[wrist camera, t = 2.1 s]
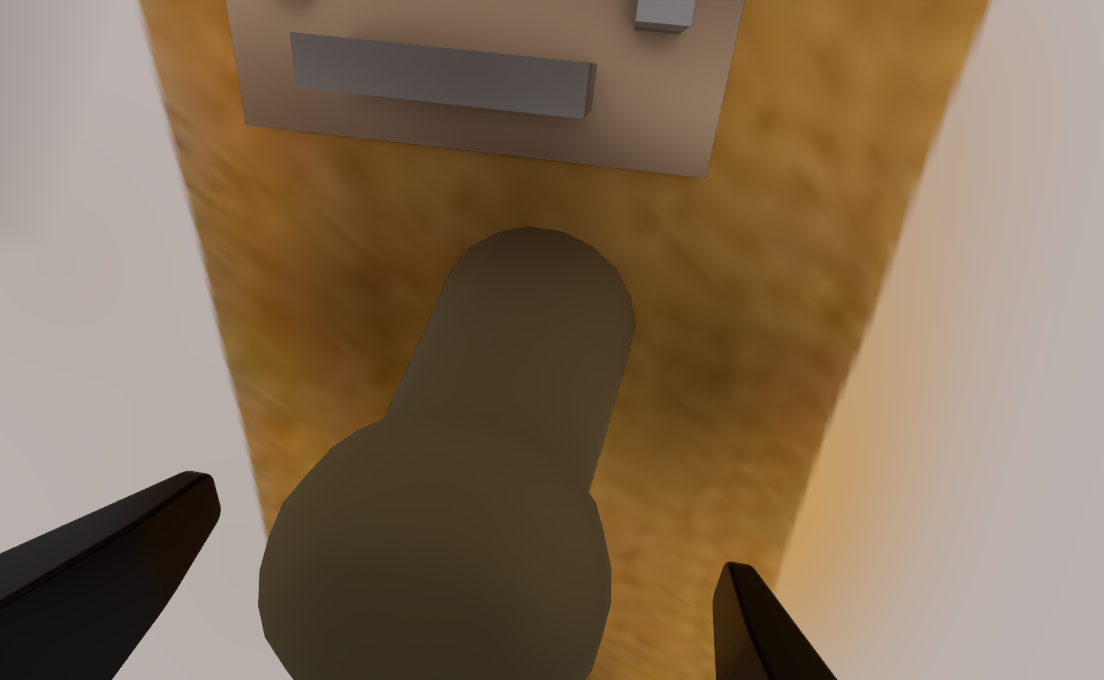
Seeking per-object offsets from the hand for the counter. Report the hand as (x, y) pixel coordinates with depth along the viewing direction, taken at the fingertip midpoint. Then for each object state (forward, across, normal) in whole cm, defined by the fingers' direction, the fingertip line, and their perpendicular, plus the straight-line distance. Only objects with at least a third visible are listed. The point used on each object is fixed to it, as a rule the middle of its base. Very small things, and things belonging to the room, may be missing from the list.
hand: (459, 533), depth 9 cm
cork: (+8, 0, 0) cm, 9 cm away
